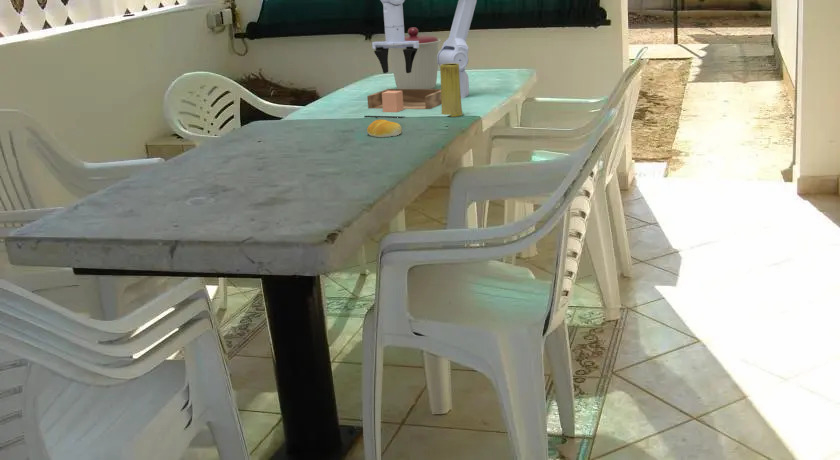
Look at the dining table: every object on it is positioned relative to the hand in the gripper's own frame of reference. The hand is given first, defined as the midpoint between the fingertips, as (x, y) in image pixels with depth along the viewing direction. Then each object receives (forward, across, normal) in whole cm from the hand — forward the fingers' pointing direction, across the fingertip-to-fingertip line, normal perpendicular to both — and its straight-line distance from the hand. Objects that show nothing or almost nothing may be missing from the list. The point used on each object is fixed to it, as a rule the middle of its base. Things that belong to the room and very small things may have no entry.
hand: (397, 72), depth 266 cm
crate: (+10, +3, 0) cm, 11 cm away
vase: (+11, +22, -12) cm, 27 cm away
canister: (+11, -9, +33) cm, 36 cm away
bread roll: (+11, +14, -40) cm, 44 cm away
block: (+10, +3, -10) cm, 15 cm away
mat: (+10, +3, -12) cm, 17 cm away
